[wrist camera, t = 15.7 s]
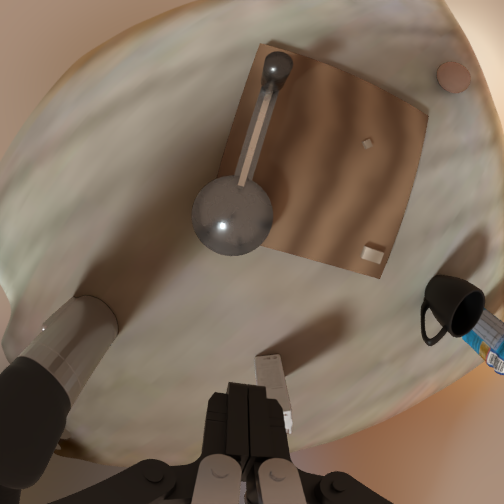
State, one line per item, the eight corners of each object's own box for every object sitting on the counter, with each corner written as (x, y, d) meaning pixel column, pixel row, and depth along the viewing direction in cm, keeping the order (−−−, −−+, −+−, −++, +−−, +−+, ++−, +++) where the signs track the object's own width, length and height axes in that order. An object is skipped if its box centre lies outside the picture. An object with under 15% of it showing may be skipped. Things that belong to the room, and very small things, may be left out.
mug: (395, 300, 39) (425, 330, 30) (446, 257, 38) (482, 277, 28) (408, 331, 41) (435, 362, 32) (456, 291, 40) (487, 314, 30)
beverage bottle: (474, 300, 40) (537, 350, 21) (489, 310, 42) (545, 355, 22) (453, 335, 43) (508, 393, 23) (470, 342, 44) (520, 393, 25)
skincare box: (253, 356, 41) (256, 413, 30) (281, 352, 41) (292, 408, 30) (257, 382, 43) (260, 438, 31) (283, 379, 43) (293, 434, 31)
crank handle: (258, 257, 34) (263, 284, 26) (188, 238, 33) (171, 260, 25) (309, 90, 28) (329, 67, 20) (237, 69, 27) (234, 40, 19)
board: (205, 226, 35) (201, 231, 32) (259, 49, 28) (260, 40, 26) (374, 273, 38) (382, 281, 35) (421, 117, 31) (432, 115, 28)
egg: (442, 100, 30) (469, 94, 23) (424, 73, 29) (450, 63, 22) (456, 88, 29) (482, 82, 23) (439, 63, 28) (464, 53, 21)
